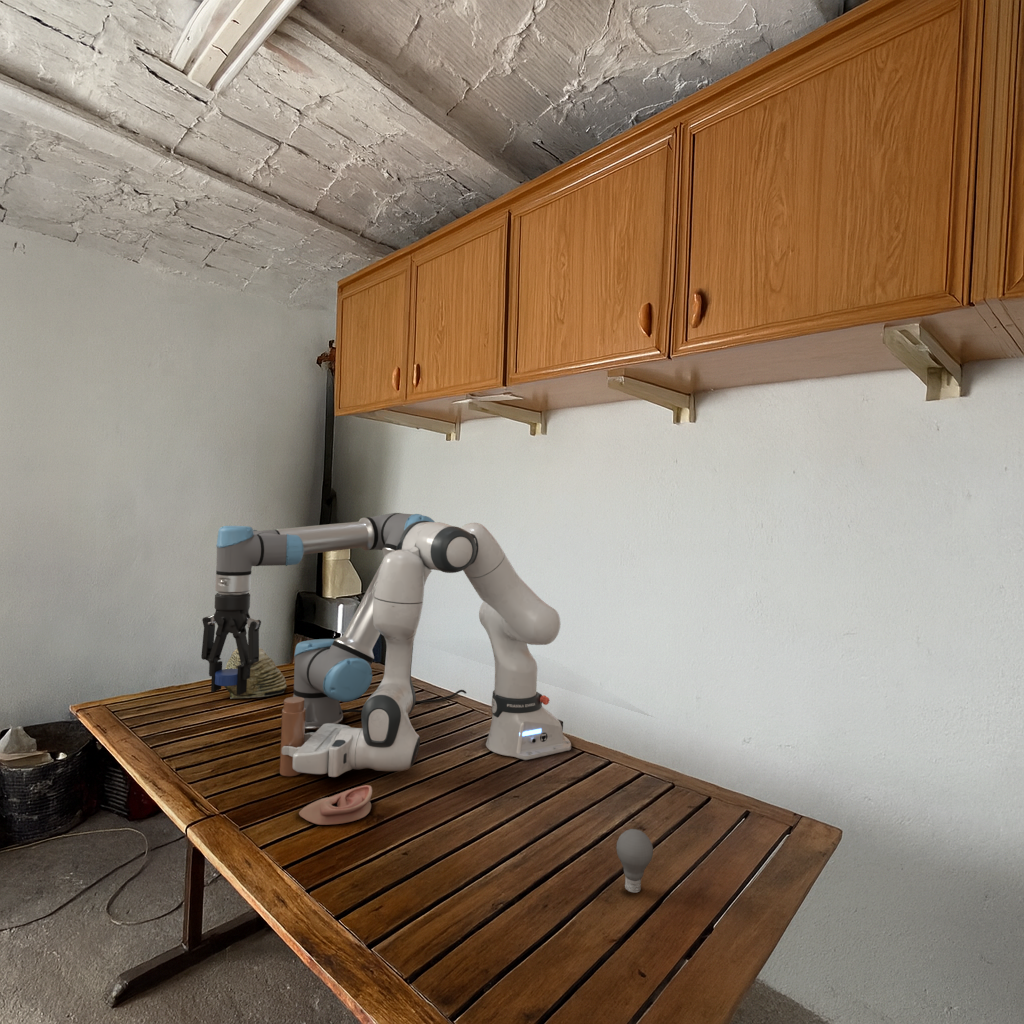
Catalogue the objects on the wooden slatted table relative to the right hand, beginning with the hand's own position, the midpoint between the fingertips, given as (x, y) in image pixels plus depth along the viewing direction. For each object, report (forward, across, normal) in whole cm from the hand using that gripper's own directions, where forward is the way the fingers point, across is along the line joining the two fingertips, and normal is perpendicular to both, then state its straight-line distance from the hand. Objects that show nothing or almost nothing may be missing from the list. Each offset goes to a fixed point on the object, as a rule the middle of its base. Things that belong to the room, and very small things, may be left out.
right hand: (288, 743), depth 145 cm
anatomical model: (-17, +17, +6) cm, 25 cm away
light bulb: (-74, +36, +6) cm, 82 cm away
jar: (-1, 0, +6) cm, 6 cm away
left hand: (+15, -2, -11) cm, 19 cm away
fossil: (+32, -51, +6) cm, 61 cm away
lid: (+15, -1, -15) cm, 21 cm away
